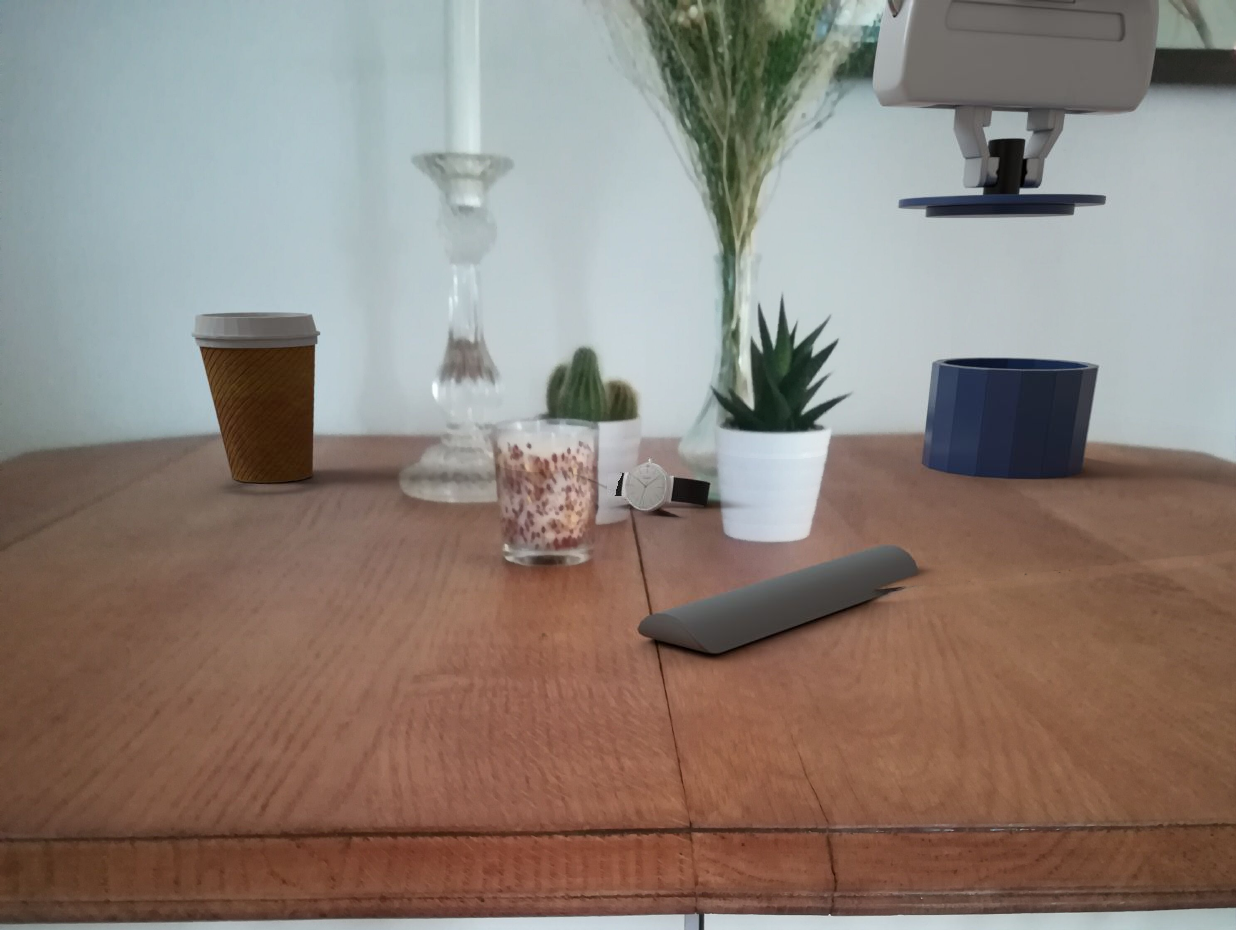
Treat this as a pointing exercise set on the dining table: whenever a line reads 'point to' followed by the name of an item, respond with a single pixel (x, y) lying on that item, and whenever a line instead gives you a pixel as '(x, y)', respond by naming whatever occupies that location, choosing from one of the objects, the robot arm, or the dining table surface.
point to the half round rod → (780, 601)
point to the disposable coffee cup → (262, 390)
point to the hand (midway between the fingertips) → (1002, 188)
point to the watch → (659, 488)
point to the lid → (1003, 193)
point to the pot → (1009, 417)
